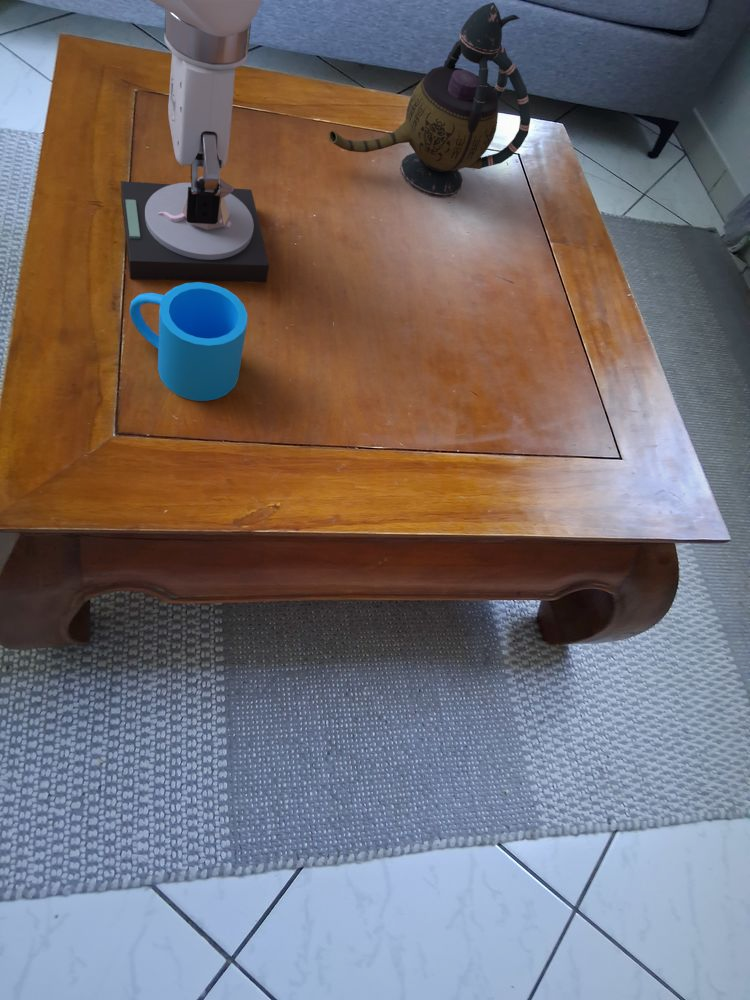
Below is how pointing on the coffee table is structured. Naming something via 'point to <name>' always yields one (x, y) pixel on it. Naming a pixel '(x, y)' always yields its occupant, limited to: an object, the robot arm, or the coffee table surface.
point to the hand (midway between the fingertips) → (196, 191)
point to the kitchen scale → (190, 237)
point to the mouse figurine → (222, 216)
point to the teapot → (456, 112)
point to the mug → (196, 338)
